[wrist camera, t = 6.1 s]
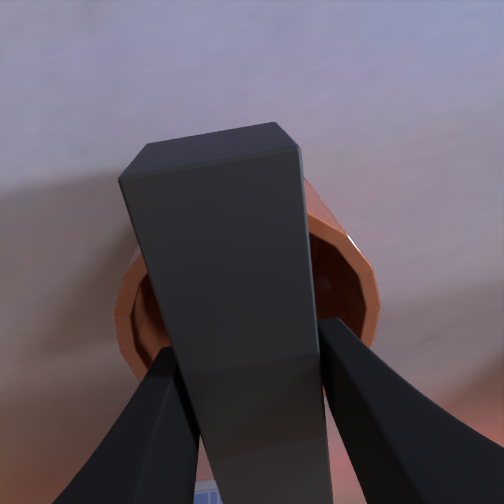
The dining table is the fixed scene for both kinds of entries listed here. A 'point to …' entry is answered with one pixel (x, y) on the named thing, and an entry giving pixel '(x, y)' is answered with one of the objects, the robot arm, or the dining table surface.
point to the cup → (324, 281)
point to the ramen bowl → (206, 492)
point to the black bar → (238, 304)
